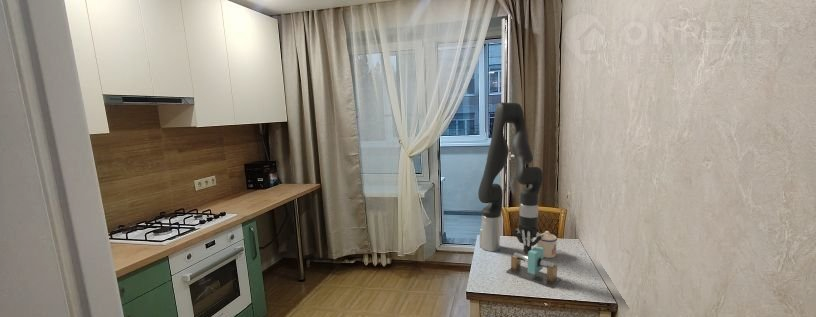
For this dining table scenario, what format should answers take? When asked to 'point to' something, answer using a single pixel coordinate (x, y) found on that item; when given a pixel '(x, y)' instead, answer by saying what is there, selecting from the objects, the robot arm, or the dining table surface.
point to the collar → (535, 259)
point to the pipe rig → (539, 277)
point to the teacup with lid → (548, 244)
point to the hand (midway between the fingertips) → (527, 253)
